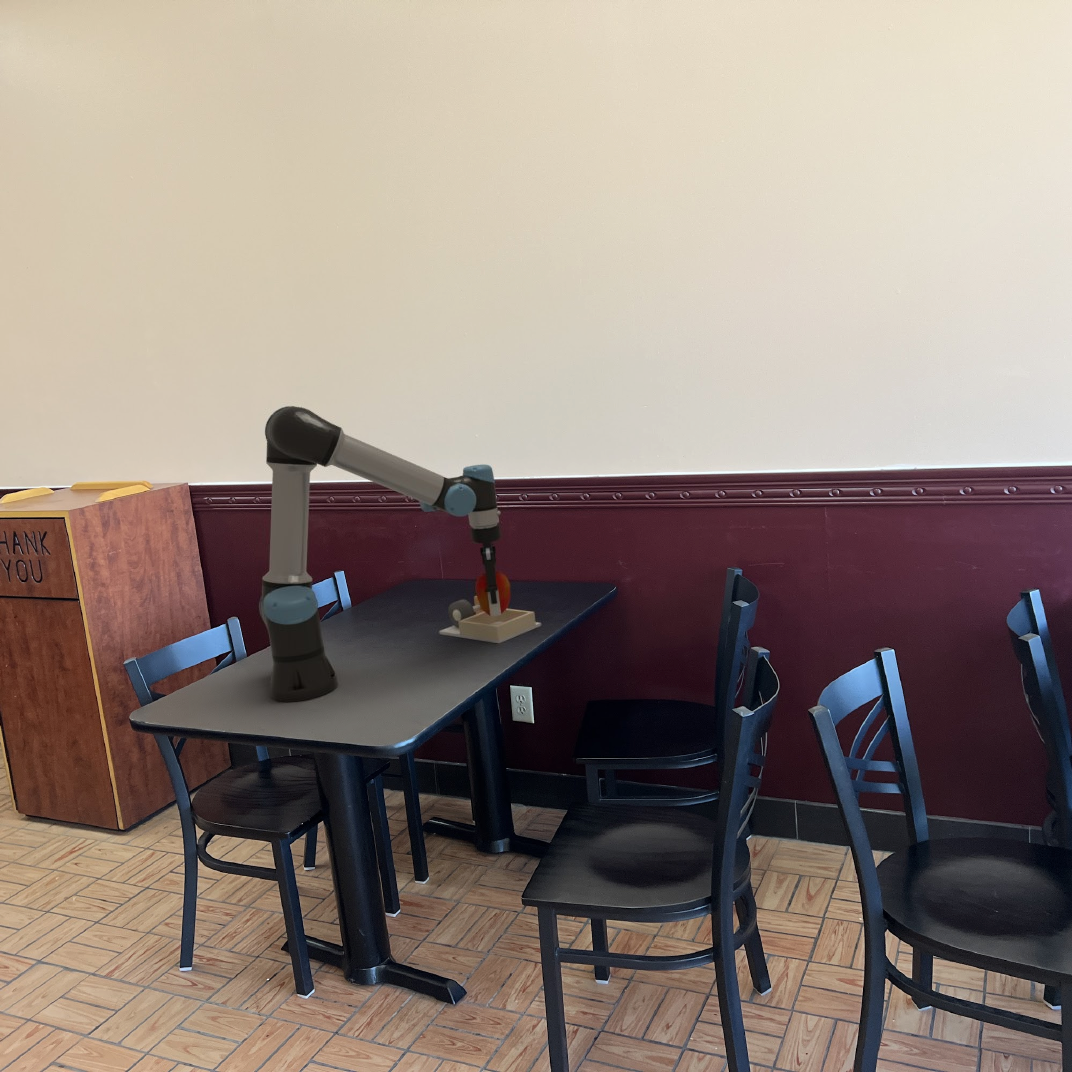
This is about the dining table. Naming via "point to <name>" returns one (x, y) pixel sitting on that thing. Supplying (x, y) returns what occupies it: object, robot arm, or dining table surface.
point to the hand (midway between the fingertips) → (495, 610)
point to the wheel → (461, 611)
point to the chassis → (493, 625)
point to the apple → (502, 590)
